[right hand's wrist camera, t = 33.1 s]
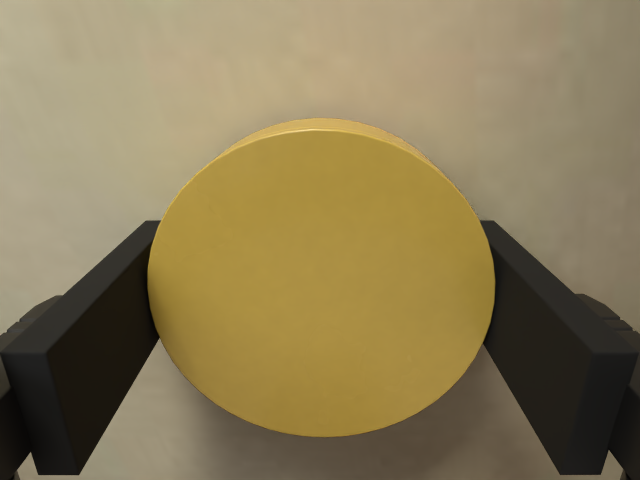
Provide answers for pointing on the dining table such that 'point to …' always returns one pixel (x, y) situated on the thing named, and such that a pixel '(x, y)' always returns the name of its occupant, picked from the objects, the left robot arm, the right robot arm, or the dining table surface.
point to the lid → (321, 279)
